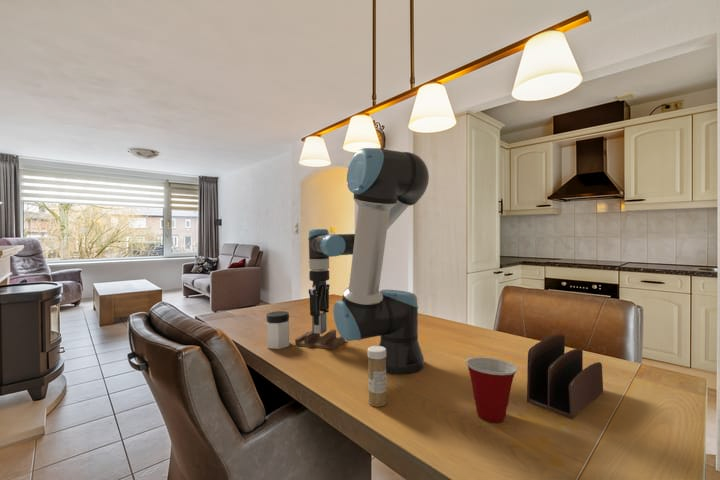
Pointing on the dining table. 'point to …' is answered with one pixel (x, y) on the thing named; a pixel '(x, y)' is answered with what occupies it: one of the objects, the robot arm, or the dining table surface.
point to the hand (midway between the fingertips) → (320, 331)
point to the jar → (277, 330)
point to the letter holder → (561, 378)
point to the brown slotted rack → (320, 340)
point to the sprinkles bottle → (377, 375)
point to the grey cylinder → (323, 323)
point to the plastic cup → (491, 386)
